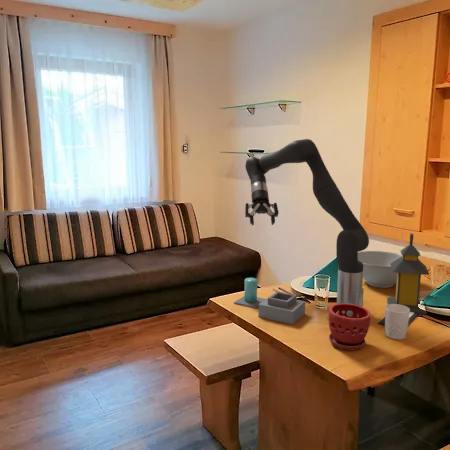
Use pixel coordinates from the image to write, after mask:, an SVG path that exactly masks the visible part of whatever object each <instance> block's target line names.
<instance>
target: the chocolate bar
mask: <svg viewBox="0 0 450 450" xmlns="http://www.w3.org/2000/svg"><path fill="white" fill-rule="evenodd" d="M418 316H419V314H418V313H413V312H410V313H409V321H408V326H409V325H410V324H411V323H412V322H413V321H414V320H415V319H416V318H417V317H418ZM377 325H378V326H379V325H380V326H383V327H385V316H384V317H382V319H380V320H379V321H378V322H377Z"/></svg>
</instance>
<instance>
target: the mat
mask: <svg viewBox="0 0 450 450" xmlns="http://www.w3.org/2000/svg"><path fill="white" fill-rule="evenodd" d="M266 299H267V298H261V297H258V296H257V301H256V302H254V303H248V302H245V301H244V295H243V296H242V297H240V298H239V299H237V300H235V301H234V302H233V304H235V305H240V306H244V307H248V308H251V309H257V308H259V304H260V303H261V302H263V301H264V300H266Z"/></svg>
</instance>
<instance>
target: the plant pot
mask: <svg viewBox="0 0 450 450" xmlns="http://www.w3.org/2000/svg"><path fill="white" fill-rule="evenodd" d="M337 311H339V313H337ZM342 311H345V313H342ZM347 311H352V312H353V316H348V315H347ZM357 314H358V315H359V316H358V317H357ZM371 315H372V314H371V312H370V311H369V310H368V309H367V308H365V307H361V306H358V305H354V304H337V303H336V304H333V305H331V306H330V307H329V311H328V326H329V331H330V334H329V336H328V340H329V341H330V343H331V344H332V345H333V346H335V347H337V348H338V349H342V350H348V351H353V350H359V349H361V348H363V347H365V344H366V340H365V339H366V337H367V335H368V332H369V329H370V324H371V320H372V319H371Z"/></svg>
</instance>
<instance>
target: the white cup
mask: <svg viewBox="0 0 450 450" xmlns="http://www.w3.org/2000/svg"><path fill="white" fill-rule="evenodd" d="M409 313H410V309H409V308H408V307H406V306H404V305H400V304H388V303H387V304H386V305H385V306H384V317H385V326H384V330H385V331H384V332H385V333H384V334H385V336H386V337H388V338H390V339H393V340H404V339H406V338H407V331H408V326H409V325H408V321H409Z"/></svg>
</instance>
